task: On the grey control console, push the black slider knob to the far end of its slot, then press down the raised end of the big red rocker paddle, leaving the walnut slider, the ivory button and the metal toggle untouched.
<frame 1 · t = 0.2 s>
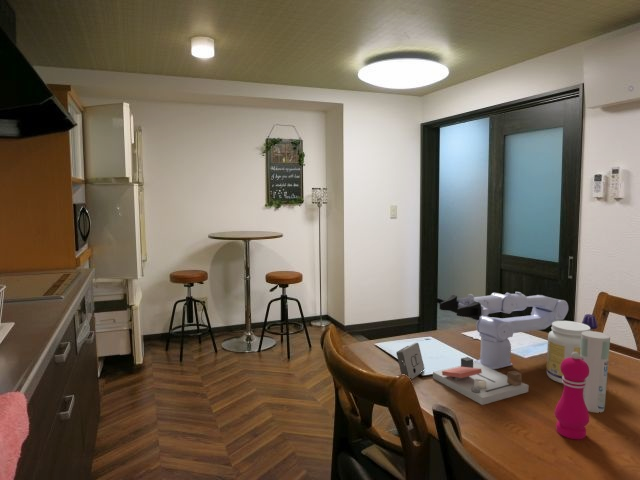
hand: (448, 309, 143), 21 cm above the table, tool horizontal, fingers open, 7 cm apart
spray can: (590, 407, 123), on the table
red rocker: (461, 372, 137), point 4 cm above the table, hinge at 15.0°
supplement tub: (567, 379, 142), on the table
pepper mill: (570, 433, 110), on the table
electrical switch: (410, 374, 146), on the table
black slider: (467, 363, 144), point 4 cm above the table, slide at 0.0 cm
console: (478, 384, 137), on the table
walnut slider: (514, 378, 133), point 4 cm above the table, slide at 0.0 cm
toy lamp: (586, 364, 154), on the table
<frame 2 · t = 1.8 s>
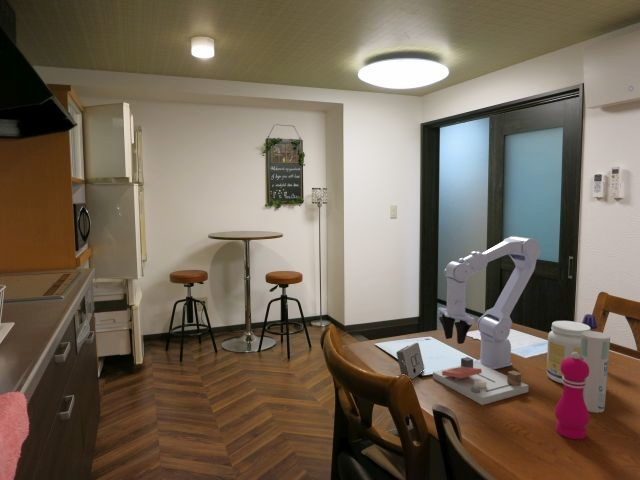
hand: (454, 340, 148), 9 cm above the table, tool pointing down, fingers open, 5 cm apart
nothing on the table moved.
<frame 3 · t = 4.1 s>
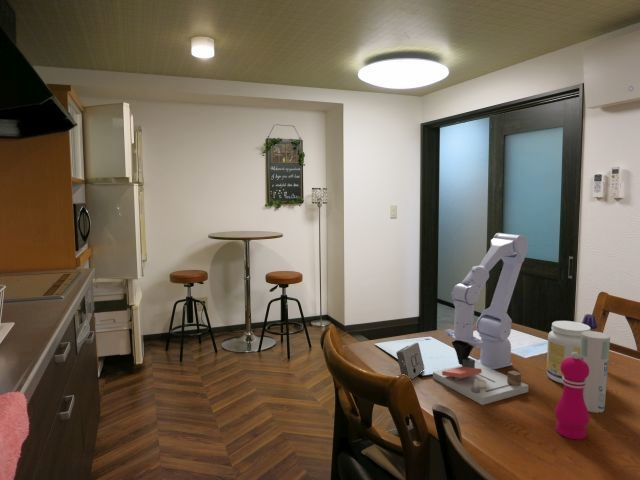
hand: (462, 363, 146), 3 cm above the table, tool pointing down, fingers closed
black slider: (468, 364, 144), point 4 cm above the table, slide at 0.6 cm, touching gripper
everything else where it was.
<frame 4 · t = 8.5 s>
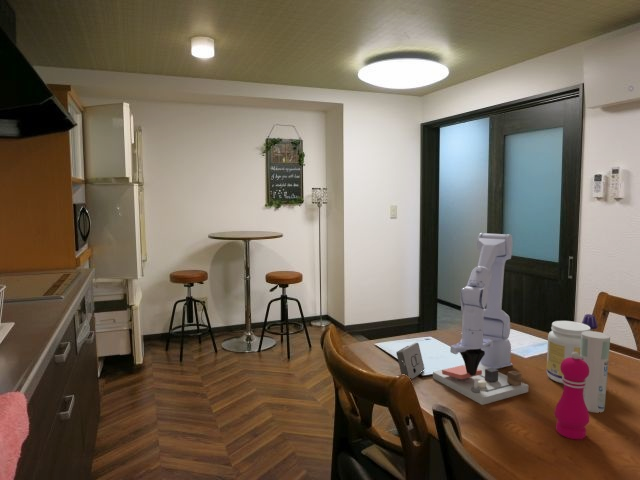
hand: (471, 374, 133), 5 cm above the table, tool pointing down, fingers closed, pressing on red rocker
red rocker: (461, 372, 136), point 4 cm above the table, hinge at 9.6°, touching gripper
black slider: (491, 375, 135), point 4 cm above the table, slide at 9.8 cm
everything else where it was.
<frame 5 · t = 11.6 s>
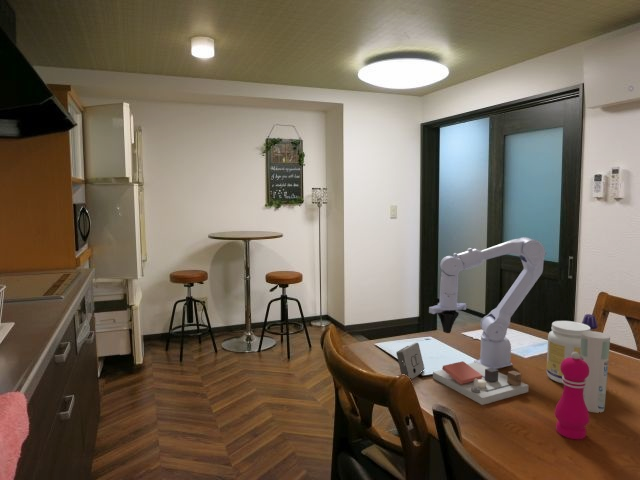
hand: (446, 332, 154), 10 cm above the table, tool pointing down, fingers closed
red rocker: (462, 372, 136), point 4 cm above the table, hinge at -11.7°
everything else where it was.
at the end: black slider slide at 9.8 cm; red rocker at -12° (first picture: +15°); walnut slider slide at 0.0 cm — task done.
